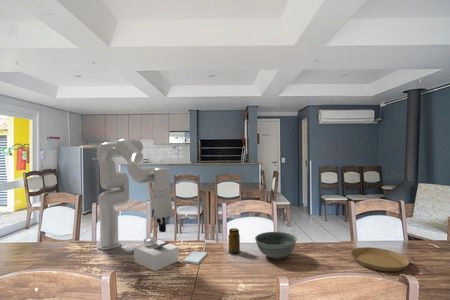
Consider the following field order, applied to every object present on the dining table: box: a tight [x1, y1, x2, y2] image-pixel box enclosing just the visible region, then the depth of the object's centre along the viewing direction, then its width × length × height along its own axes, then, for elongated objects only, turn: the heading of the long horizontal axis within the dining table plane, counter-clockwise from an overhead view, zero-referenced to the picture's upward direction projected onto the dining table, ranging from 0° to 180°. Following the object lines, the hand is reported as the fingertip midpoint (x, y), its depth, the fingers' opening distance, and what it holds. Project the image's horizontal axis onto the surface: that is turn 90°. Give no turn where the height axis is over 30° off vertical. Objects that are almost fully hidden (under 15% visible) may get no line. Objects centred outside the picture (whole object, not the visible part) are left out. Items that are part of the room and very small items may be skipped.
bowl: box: [254, 231, 297, 261], centre depth 133 cm, size 21×21×10 cm
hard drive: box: [182, 250, 208, 265], centre depth 132 cm, size 2×8×12 cm
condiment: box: [225, 227, 246, 257], centre depth 139 cm, size 7×8×12 cm
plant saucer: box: [350, 246, 410, 273], centre depth 125 cm, size 24×24×3 cm
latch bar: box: [153, 241, 170, 249], centre depth 126 cm, size 7×5×1 cm
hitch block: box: [133, 239, 179, 272], centre depth 129 cm, size 17×14×7 cm
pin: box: [143, 236, 158, 248], centre depth 132 cm, size 6×6×9 cm
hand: (162, 231), depth 126 cm, fingers closed
